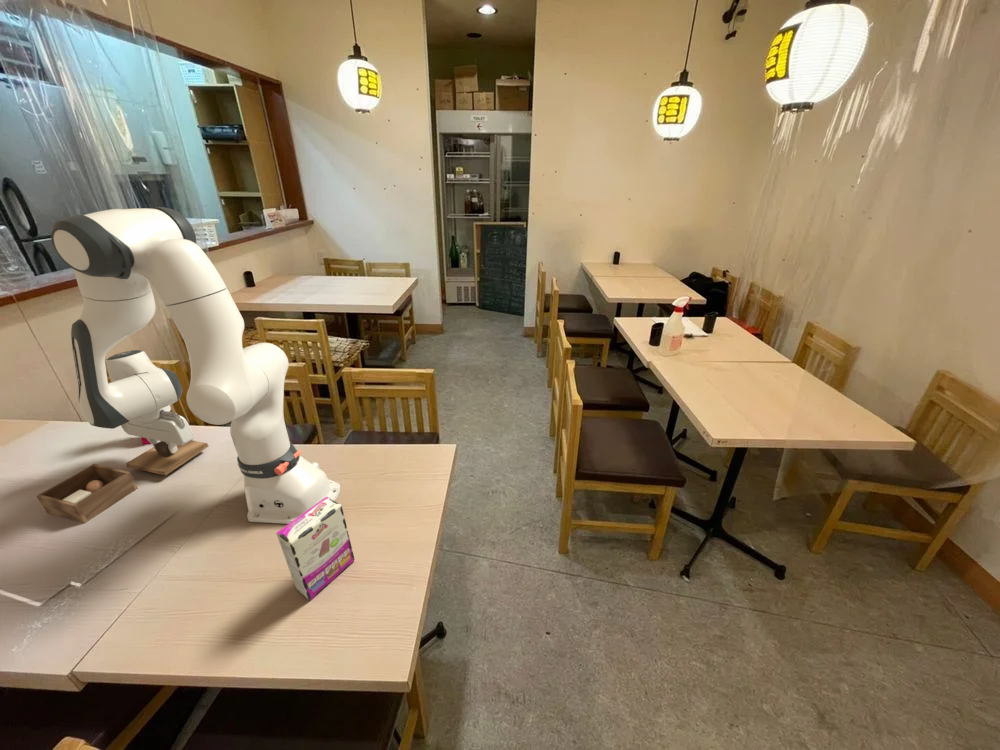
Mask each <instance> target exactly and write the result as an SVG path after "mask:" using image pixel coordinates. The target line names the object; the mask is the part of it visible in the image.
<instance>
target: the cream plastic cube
mask: <svg viewBox="0 0 1000 750" xmlns="http://www.w3.org/2000/svg"><path fill="white" fill-rule="evenodd" d="M90 494H92V493H91V492H88V491H84V490H78V491H76V492H75V493H73V494H71V495H70V496H68V497H66V498H65V499H63V500H64V501H67V502H71V503H75V504H76V503H77V502H79V501H81V500H82V499H84V498H86V497H87V496H89V495H90Z"/></svg>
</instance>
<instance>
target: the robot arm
mask: <svg viewBox="0 0 1000 750" xmlns="http://www.w3.org/2000/svg"><path fill="white" fill-rule="evenodd" d="M50 239H51V243H52V246H53V248H54V251H56V253H57V255H58V256H59V257H60V258H61V260H62V261H63V262H64V263H65V264H66V265H67V266H69V268H71V269H72V270H73V271H74V276H75V280H76V282H77V286H78V289H79V291H80V294H81V296H82V300H83V301H82V302H83V307H82V311H81V314H80V316H79V319H77V320H75V322H73V323H72V325H71V328H70V329H71V331H70V338H71V345H72V347H71V349H72V353H73V360H74V366H75V367H74V368H75V372H76V378H77V385H78V403H79V404H78V405H79V410H80V413H81V415H82V416H83V418H84V419H85V420H86V422H87V423H89V425H91V427H97V428H101V429H102V428H103V429H114V430H115V429H116V428H118V427H121V428H122V430H123V431H124V432H125V433H126V434H127V435H129V436H133V437H137V438H138V437H139V438H142V437H143V438H147V440H148V441H149V442H150V443H151V444H150V445H151V446H153V447H154V448H155V446H154V445H155V444H157V443H158V442H160V441H163V442H166V444H168V447H167V448H166V449H167V451H168V452H169V453H175V452H176V451H178V448H177V446H176V445H177V444H178V445H184V444H186V443H188V442H189V441H191V440H194V439H195V438H194V437H195V435H194V434H195V433H194V431H193V430H192V428H191V426H190V424H189V422H188V420H187V418H185V417H184V416H183V415H180V414H178V413H177V412H172V411H171V410H172V407H171V405H173V404H174V403H176V402H178V401H179V400H180V399H181V397H182V394H183V391H184V389H183V387H182V384H181V382H180V379H179V377H178V374H177V373H176V372H175V371H173V370H170V369H166V368H162V367H158V366H156V365H155V364H154V363H153V362H152V361H151V359H150V357H149V356H148V355H147V353H146V352H145V351H144V350H140V349H135V350H134V349H133V350H132V349H131V350H128V351H123V352H119V353H115V354H113V355H111V356H109V357H108V358H106V356H107V355H108V354H109V351H110V350H112V348H114V347H115V346H116V345H117V344H118V343H121V342H122V341H123V340H125V339H126V338H128V337H130V336H132V335H134V334H135V333H137V332H139V331H141V330H142V329H144V328H145V327H146V326H147V325H148V324H149V323H150V322H151V320H153V317H154V316H155V314H156V301H155V297H154V293H153V290H152V287H154V289H155V291H156V293H157V295H158V297H159V298H160V299H159V300H161V302H162V304H163V306H164V307H165V310H167V313H168V315H169V316H170V318H171V320H172V321H173V323H174V324H175V326H176V329H177V330H178V332H179V334H180V336H181V337H182V339H183V341H184V343H185V346H186V350H187V354H188V359H189V365H190V382H189V388H188V390H187V393H186V404H187V407H188V409H189V410H190V412H191V413H192V414H193V415H194V416H195V417H196V418H197V419H200V420H201V421H202V422H205V423H207V424H210V425H211V424H212V425H216V426H217V425H219V426H220V425H226V424H228V423H231V424H230V429H229V431H230V432H229V433H230V437H231V441H232V443H233V446H234V449H235V451H236V454H237V458H236V460H237V465H238V468H239V470H240V472H241V475H243V481H244V493H245V494H244V495H245V500H246V508H247V510H248V511H247V515H246V518H247V521H248V522H251V523H269V524H284V525H287V524H289V523H290V522H292V521H293V520H294V519H296V518H297V517H299V516H300V515H301V514H303V513H304V512H306V511H307V510H308V509H310V508H311V507H313V506H314V505H315V504H317V503H318V502H320V501H321V500H322V499H324V498H325V497H326V496H327V497H329V498H331V500H333V501H335V502H336V500H337V498H338V496H339V494H340V492H341V485H340V483H339V482H336V481H334V480H332V479H330V478H328V476H327V474H326V473H325V472H324V470H322V469H321V468H320V465H319V464H318V462H314V461H313V462H312V463H311V462H310V461H309V460H307V459H305V458H304V457H303V456H301V454H302V453H303V452H302V449H301V448H300V449H298V450H297V449H296V447H295V445H294V444H293V442H292V441H291V440H290V438H289V434H288V431H287V430H288V429H287V427H286V422H285V416H284V400H285V399H284V398H285V396H284V394H285V393H284V392H285V391H284V390H285V380H286V375H287V373H288V370H289V364H290V363H289V358H288V356H287V354H286V353H285V351H283V349H281V348H280V347H279V346H278V345H275V344H273V343H270V342H258V343H254V344H251V345H248V346H246V347H243V333H244V331H245V321H244V318H243V316H242V314H241V312H240V310H239V308H238V306H237V303H235V301H234V299H233V297H232V295H231V293H230V291H229V289H228V287H227V285H226V283H225V281H224V279H223V278H222V276H221V275H220V272H218V269H217V268H216V266H215V265H214V264H213V262H212V261H211V259H210V258H209V257H208V256H207V254H206V253H205V251H204V250H203V249H202V248H201V247H200V246H199V245H198V244H197V235H196V232H195V229H194V227H193V226H192V224H191V223H190V222H189V220H188V218H186V217H185V216H184V215H183V214H181V212H178V211H177V210H175V209H172V208H168V207H162V206H149V207H146V208H145V207H144V208H143V207H141V208H138V207H137V208H135V207H134V208H123V209H122V208H112V209H111V208H110V209H105V210H100V211H94V212H91V213H87V214H75V215H71V216H68V217H65V218H62V219H60V220H58V221H56V222H55V223H54V224H52V227H51V234H50ZM151 285H152V287H151ZM108 377H109V379H110V382H109V380H108ZM155 450H156V448H155Z"/></svg>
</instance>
